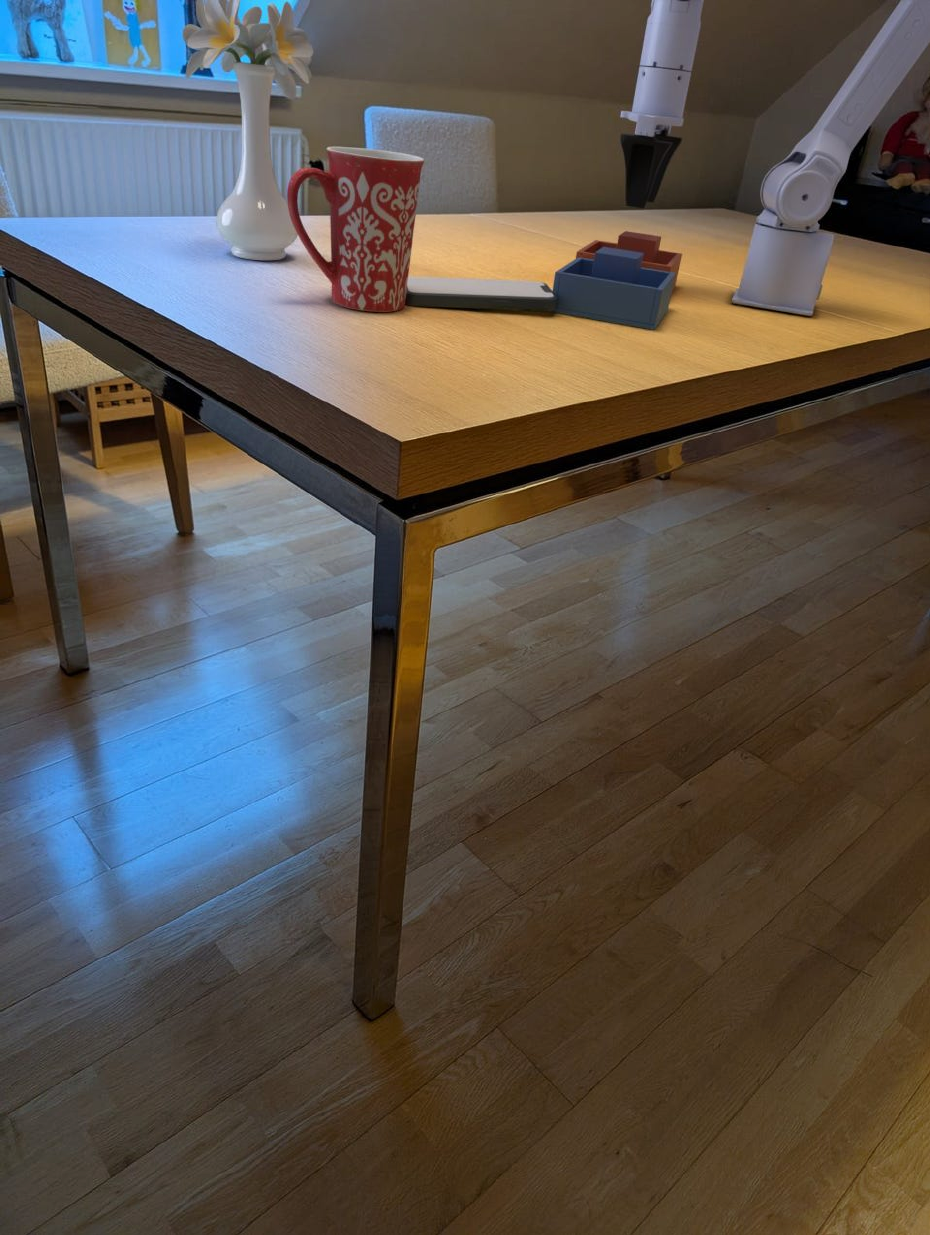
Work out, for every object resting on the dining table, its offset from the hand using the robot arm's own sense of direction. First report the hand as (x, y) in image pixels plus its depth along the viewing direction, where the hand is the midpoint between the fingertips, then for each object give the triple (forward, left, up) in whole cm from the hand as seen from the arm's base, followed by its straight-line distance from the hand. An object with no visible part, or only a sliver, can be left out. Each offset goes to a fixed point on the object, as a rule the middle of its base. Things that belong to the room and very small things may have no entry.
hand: (640, 204), depth 104 cm
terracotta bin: (0, 0, -9) cm, 9 cm away
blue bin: (-1, +15, -9) cm, 18 cm away
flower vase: (+41, +18, -10) cm, 46 cm away
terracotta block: (-1, 0, -9) cm, 9 cm away
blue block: (-1, +15, -9) cm, 18 cm away
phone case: (+12, +22, -10) cm, 27 cm away
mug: (+22, +32, -10) cm, 40 cm away
